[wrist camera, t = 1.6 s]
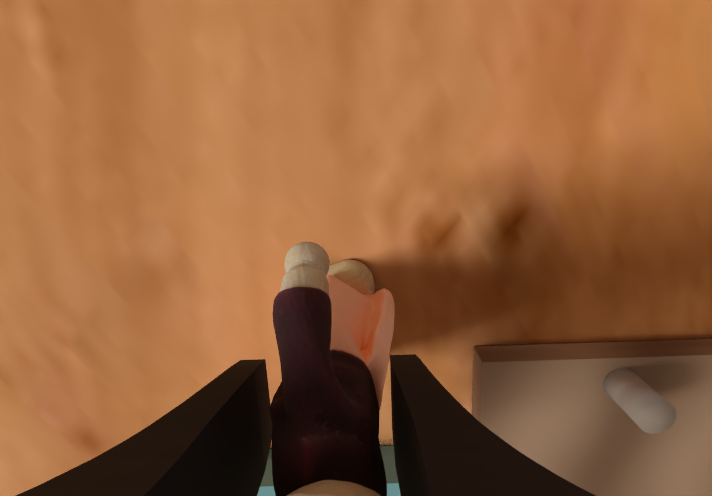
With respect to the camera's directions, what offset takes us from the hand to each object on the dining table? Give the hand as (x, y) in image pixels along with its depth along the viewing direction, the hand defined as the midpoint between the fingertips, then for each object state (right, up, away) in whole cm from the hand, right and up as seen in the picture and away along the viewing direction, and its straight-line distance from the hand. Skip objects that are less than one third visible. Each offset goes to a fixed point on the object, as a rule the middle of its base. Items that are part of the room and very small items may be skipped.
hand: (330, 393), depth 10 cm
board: (+10, -7, +8) cm, 15 cm away
